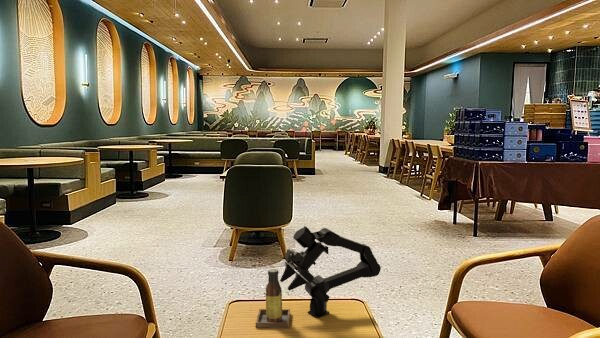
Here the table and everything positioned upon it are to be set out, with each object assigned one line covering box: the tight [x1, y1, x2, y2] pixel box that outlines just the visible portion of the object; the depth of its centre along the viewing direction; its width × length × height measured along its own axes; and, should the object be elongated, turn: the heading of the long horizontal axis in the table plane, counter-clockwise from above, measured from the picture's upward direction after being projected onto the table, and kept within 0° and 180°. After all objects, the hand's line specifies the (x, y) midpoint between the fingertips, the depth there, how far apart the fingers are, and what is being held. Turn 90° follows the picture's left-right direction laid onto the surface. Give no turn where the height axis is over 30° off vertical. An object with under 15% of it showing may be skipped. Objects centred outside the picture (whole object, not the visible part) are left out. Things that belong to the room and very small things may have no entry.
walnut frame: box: [255, 308, 291, 329], centre depth 176 cm, size 12×12×2 cm
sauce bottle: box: [265, 268, 283, 322], centre depth 175 cm, size 7×6×20 cm
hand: (284, 285), depth 176 cm, fingers open, 9 cm apart
